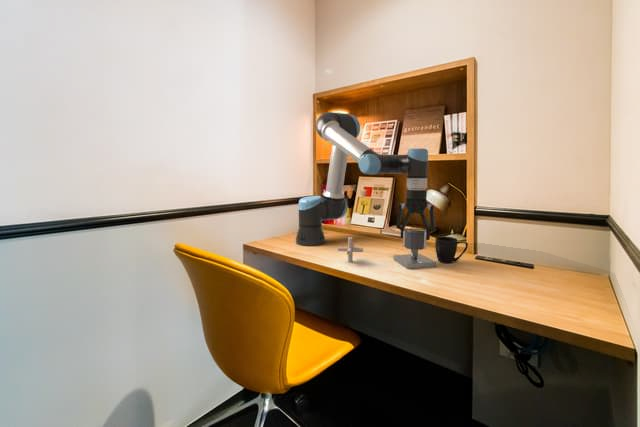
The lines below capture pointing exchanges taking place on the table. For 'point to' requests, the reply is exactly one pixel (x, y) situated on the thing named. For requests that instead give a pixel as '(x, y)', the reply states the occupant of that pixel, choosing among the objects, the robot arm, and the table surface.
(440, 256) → the mug
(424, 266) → the shaft block
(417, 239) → the knob
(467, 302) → the table surface
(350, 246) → the pipe connector
